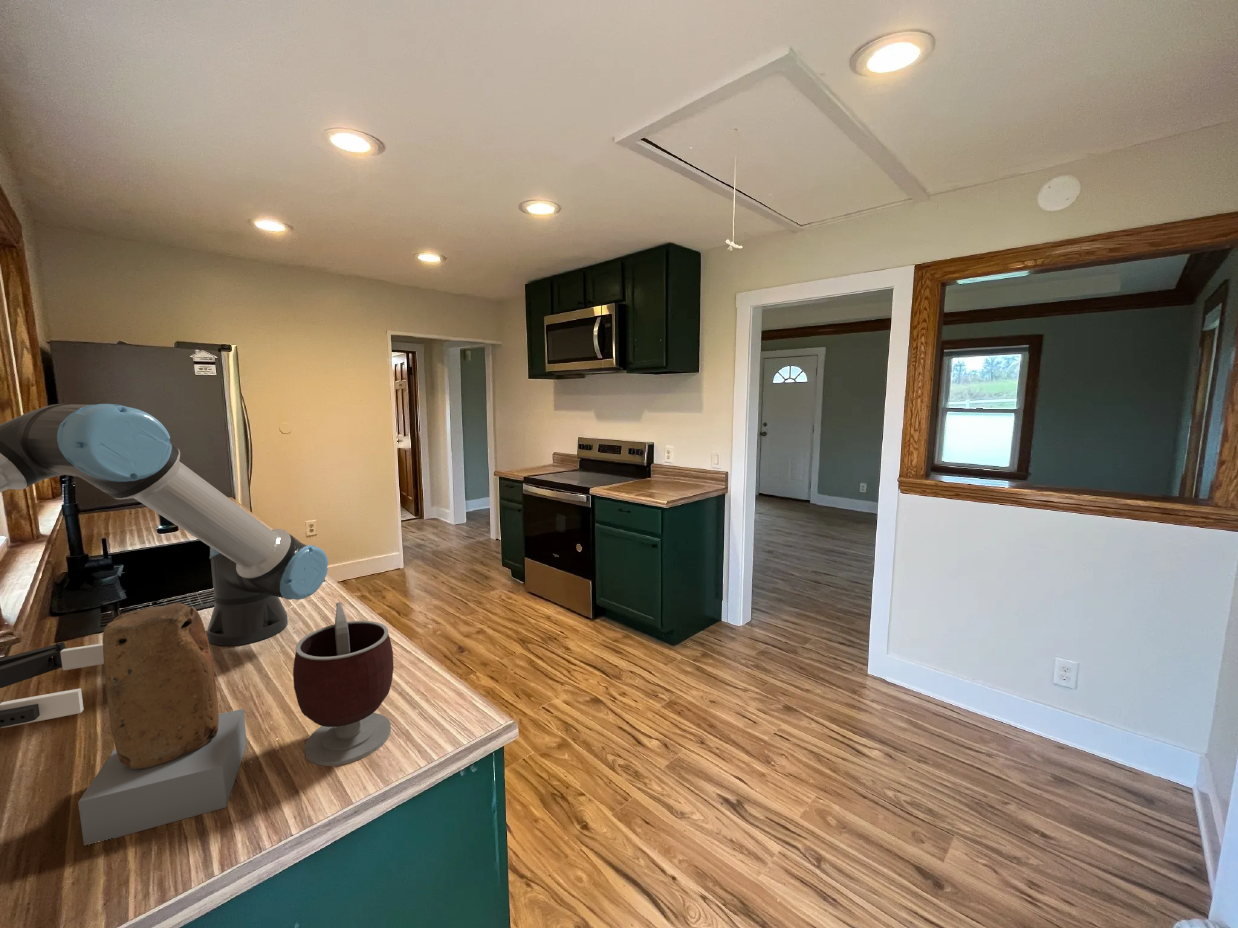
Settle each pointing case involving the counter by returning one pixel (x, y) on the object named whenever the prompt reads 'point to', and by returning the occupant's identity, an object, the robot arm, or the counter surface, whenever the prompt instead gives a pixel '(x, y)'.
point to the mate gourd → (344, 688)
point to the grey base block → (164, 786)
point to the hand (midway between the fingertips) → (106, 672)
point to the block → (159, 684)
